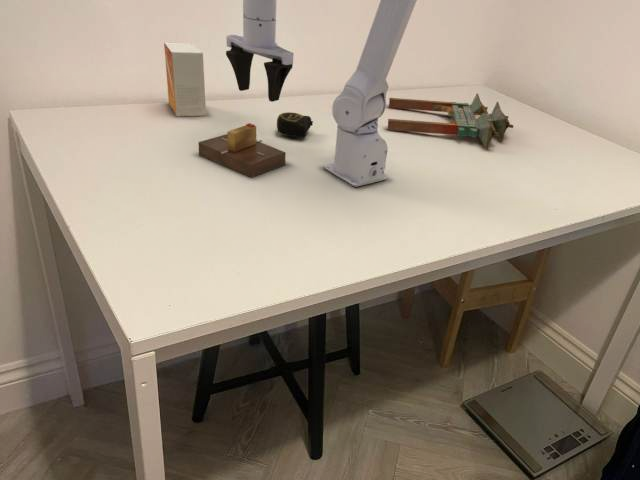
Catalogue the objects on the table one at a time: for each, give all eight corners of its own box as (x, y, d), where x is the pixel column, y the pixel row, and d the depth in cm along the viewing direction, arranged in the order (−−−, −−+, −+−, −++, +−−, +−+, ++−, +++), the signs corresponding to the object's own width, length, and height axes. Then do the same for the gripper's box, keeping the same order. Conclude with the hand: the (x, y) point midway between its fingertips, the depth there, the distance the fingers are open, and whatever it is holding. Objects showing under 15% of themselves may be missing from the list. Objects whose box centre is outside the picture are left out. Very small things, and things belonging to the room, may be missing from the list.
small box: (168, 104, 123) (163, 41, 116) (197, 104, 126) (194, 42, 119) (175, 116, 118) (171, 51, 110) (206, 116, 120) (203, 52, 113)
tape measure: (304, 142, 116) (305, 124, 114) (272, 136, 116) (272, 118, 114) (312, 132, 121) (313, 115, 119) (281, 126, 122) (282, 109, 119)
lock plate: (287, 164, 105) (287, 150, 104) (249, 178, 98) (249, 164, 96) (236, 143, 110) (236, 130, 109) (196, 155, 103) (195, 141, 101)
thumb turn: (234, 152, 100) (234, 132, 98) (227, 149, 100) (227, 129, 98) (256, 144, 104) (256, 124, 102) (249, 141, 105) (249, 122, 103)
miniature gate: (390, 87, 146) (504, 95, 147) (388, 108, 149) (500, 116, 150) (388, 118, 124) (522, 128, 124) (386, 142, 127) (517, 152, 127)
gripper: (305, 25, 100) (301, 101, 107) (245, 8, 105) (245, 82, 113) (279, 27, 94) (277, 108, 102) (217, 9, 100) (219, 87, 107)
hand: (258, 95), depth 107 cm, fingers open, 7 cm apart
